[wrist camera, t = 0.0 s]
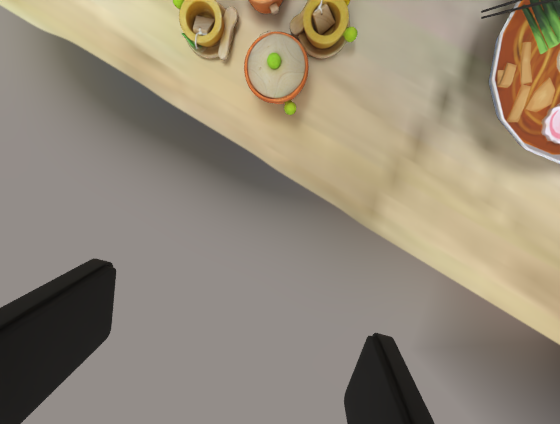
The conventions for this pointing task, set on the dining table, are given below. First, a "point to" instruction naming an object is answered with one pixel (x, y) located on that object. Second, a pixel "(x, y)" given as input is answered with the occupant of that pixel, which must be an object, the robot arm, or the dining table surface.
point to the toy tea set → (270, 42)
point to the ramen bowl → (529, 75)
